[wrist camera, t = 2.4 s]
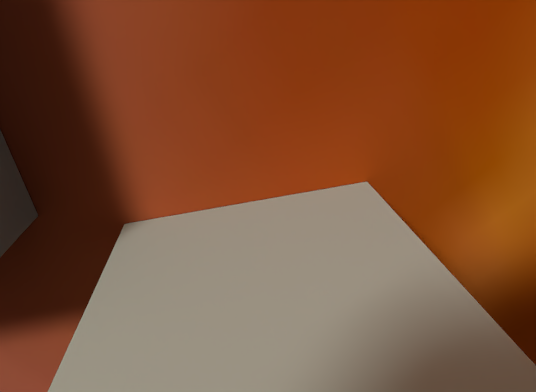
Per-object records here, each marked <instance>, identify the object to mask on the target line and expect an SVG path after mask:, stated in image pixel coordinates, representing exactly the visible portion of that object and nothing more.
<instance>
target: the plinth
mask: <svg viewBox="0 0 536 392" xmlns="http://www.w3.org/2000/svg"><path fill="white" fill-rule="evenodd" d="M37 217H38V214H37V211H36V209H35V207H34V205H33V202H32V200H31V198H30V196H29V193H28V191H27V189H26V187H25V184H24V182H23V180H22V178H21V175H20V173H19V171H18V168H17V166H16V164H15V162H14V159H13V157H12V155H11V153H10V150H9V148H8V146H7V144H6V141H5V139H4V137H3V135H2V132H1V130H0V257H1V256H2V255H3V254H4V253H5V252H6V251H7V250H8V248H9V247H10V246H11V245H12V244H13V243H14V242H15V241H16V240H17V239H18V238H19V236H20V235H21V234H22V233H23V232H24V231H25V230H26V229H27V228H28V227H29V226H30V224H31V223H32V222H33V221H34V220H35V219H36V218H37Z"/></svg>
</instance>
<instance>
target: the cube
mask: <svg viewBox="0 0 536 392" xmlns="http://www.w3.org/2000/svg"><path fill="white" fill-rule="evenodd" d="M48 392H536V365H535V364H534V363H533V362H532V361H531V360H530V359H529V358H528V357H527V355H526V354H525V353H524V352H523V351H522V350H521V349H520V348H519V347H518V346H517V345H516V343H515V342H514V341H513V340H512V339H511V338H510V337H509V336H508V335H507V334H506V333H505V331H504V330H503V329H502V328H501V327H500V326H499V325H498V324H497V323H496V322H495V321H494V320H493V318H492V317H491V316H490V315H489V314H488V313H487V312H486V311H485V310H484V309H483V308H482V306H481V305H480V304H479V303H478V302H477V301H476V300H475V299H474V298H473V297H472V296H471V294H470V293H469V292H468V291H467V290H466V289H465V288H464V287H463V286H462V285H461V284H460V282H459V281H458V280H457V279H456V278H455V277H454V276H453V275H452V274H451V273H450V272H449V270H448V269H447V268H446V267H445V266H444V265H443V264H442V263H441V262H440V261H439V260H438V258H437V257H436V256H435V255H434V254H433V253H432V252H431V251H430V250H429V249H428V248H427V246H426V245H425V244H424V243H423V242H422V241H421V240H420V239H419V238H418V237H417V236H416V234H415V233H414V232H413V231H412V230H411V229H410V228H409V227H408V226H407V225H406V224H405V222H404V221H403V220H402V219H401V218H400V217H399V216H398V215H397V214H396V213H395V212H394V210H393V209H392V208H391V207H390V206H389V205H388V204H387V203H386V202H385V201H384V200H383V198H382V197H381V196H380V195H379V194H378V193H377V192H376V191H375V190H374V189H373V188H372V186H371V185H370V184H369V183H368V182H362V183H356V184H350V185H345V186H339V187H333V188H328V189H322V190H316V191H310V192H305V193H299V194H293V195H288V196H282V197H276V198H270V199H265V200H259V201H253V202H248V203H242V204H236V205H230V206H225V207H219V208H213V209H208V210H202V211H196V212H190V213H185V214H179V215H173V216H168V217H162V218H156V219H150V220H145V221H139V222H133V223H128V224H124V226H123V228H122V231H121V233H120V235H119V237H118V239H117V242H116V244H115V246H114V248H113V250H112V252H111V255H110V257H109V259H108V261H107V263H106V266H105V268H104V270H103V272H102V274H101V276H100V279H99V281H98V283H97V285H96V287H95V290H94V292H93V294H92V296H91V298H90V301H89V303H88V305H87V307H86V309H85V311H84V314H83V316H82V318H81V320H80V322H79V325H78V327H77V329H76V331H75V333H74V335H73V338H72V340H71V342H70V344H69V346H68V349H67V351H66V353H65V355H64V357H63V359H62V362H61V364H60V366H59V368H58V370H57V373H56V375H55V377H54V379H53V381H52V383H51V386H50V388H49V390H48Z"/></svg>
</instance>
